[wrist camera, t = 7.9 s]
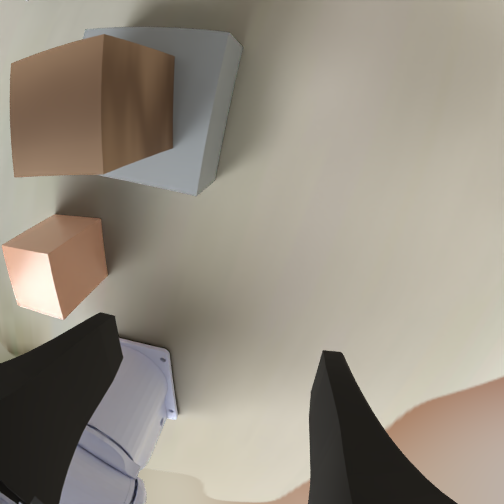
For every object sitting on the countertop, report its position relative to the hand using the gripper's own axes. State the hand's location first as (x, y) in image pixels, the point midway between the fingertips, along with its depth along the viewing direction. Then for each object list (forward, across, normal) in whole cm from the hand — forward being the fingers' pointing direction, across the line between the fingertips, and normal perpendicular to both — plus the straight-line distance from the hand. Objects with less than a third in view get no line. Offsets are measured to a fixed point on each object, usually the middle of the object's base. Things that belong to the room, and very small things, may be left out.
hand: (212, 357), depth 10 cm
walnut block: (+7, +6, -8) cm, 12 cm away
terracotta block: (+10, +13, +2) cm, 17 cm away
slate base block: (+11, +6, -8) cm, 15 cm away
